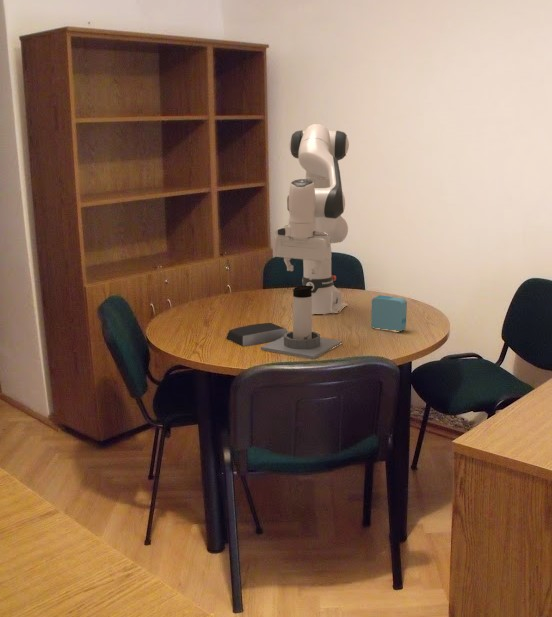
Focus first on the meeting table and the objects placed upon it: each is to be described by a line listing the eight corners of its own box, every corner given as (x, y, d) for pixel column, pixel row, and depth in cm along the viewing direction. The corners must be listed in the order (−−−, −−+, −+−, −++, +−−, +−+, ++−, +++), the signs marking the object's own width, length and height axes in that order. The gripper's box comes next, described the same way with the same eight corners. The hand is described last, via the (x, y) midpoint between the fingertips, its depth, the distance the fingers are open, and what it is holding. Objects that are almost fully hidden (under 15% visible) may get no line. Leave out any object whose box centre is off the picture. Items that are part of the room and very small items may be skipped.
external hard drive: (291, 339, 253) (291, 328, 252) (244, 348, 243) (243, 337, 242) (270, 331, 264) (270, 320, 263) (224, 339, 254) (224, 328, 253)
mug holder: (292, 335, 256) (292, 324, 255) (342, 343, 246) (342, 332, 245) (261, 349, 240) (260, 338, 239) (313, 359, 229) (313, 347, 228)
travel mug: (310, 347, 239) (310, 288, 234) (291, 345, 241) (290, 287, 236) (314, 342, 245) (314, 284, 240) (295, 340, 246) (295, 283, 242)
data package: (406, 330, 262) (407, 298, 259) (400, 333, 258) (402, 301, 255) (376, 326, 268) (377, 294, 265) (370, 328, 265) (371, 297, 262)
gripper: (335, 231, 230) (335, 273, 234) (281, 227, 241) (281, 267, 245) (325, 234, 225) (325, 277, 229) (270, 229, 236) (271, 271, 239)
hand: (302, 272), depth 237 cm, fingers open, 8 cm apart
